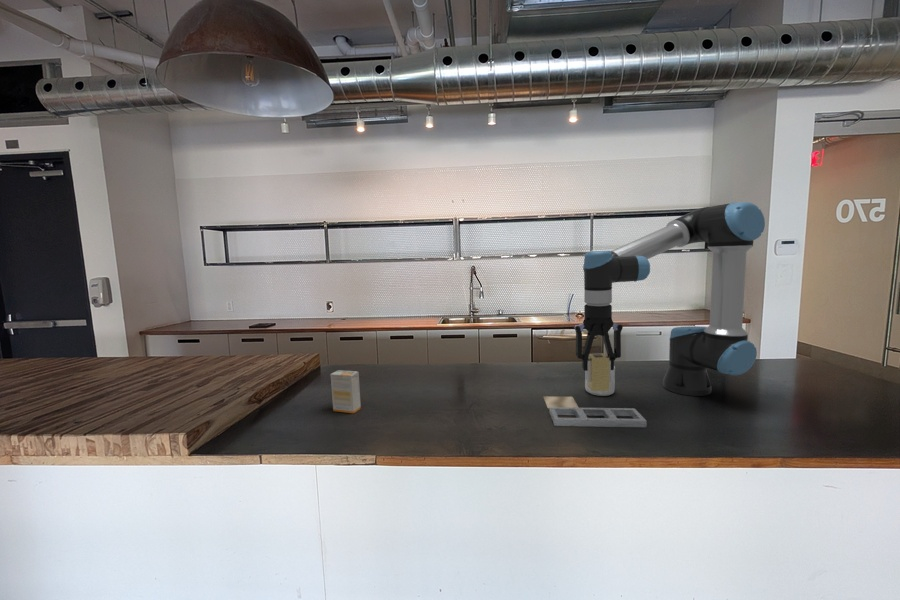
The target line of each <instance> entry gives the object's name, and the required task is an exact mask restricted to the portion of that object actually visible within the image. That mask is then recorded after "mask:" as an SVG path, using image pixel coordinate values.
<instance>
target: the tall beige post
mask: <svg viewBox="0 0 900 600" xmlns="http://www.w3.org/2000/svg"><path fill="white" fill-rule="evenodd" d="M588 359H589V360H590V361H591V382H588V381H587V386H588V387H589V388H590V389H591V391H609V357H608V355H607V354H605V352H604V353H603V352H602V353H601V352H600V353H590V354H589V357H588Z"/></svg>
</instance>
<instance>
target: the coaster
mask: <svg viewBox="0 0 900 600" xmlns="http://www.w3.org/2000/svg"><path fill="white" fill-rule="evenodd" d="M542 397H543V400H544V402H545V406H546V407H547V409H548V410H550V407H565V408H580V407H579V406H578V404H577V402H576V400H575V399H574V397H573V396H542Z"/></svg>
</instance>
